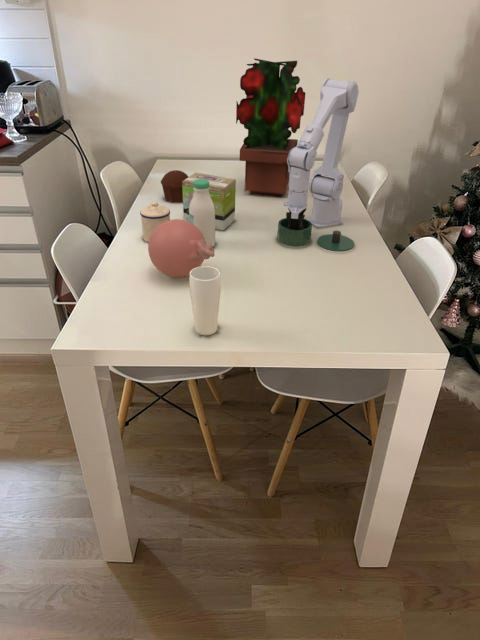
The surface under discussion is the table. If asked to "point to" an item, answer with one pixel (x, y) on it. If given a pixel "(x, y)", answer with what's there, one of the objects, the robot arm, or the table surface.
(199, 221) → the milk bottle
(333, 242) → the lid
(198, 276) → the drinking glass
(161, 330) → the table surface
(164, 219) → the teacup with lid
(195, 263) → the balloon
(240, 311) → the table surface
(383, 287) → the table surface
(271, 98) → the potted plant
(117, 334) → the table surface
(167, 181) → the muffin
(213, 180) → the tea box
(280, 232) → the pot
